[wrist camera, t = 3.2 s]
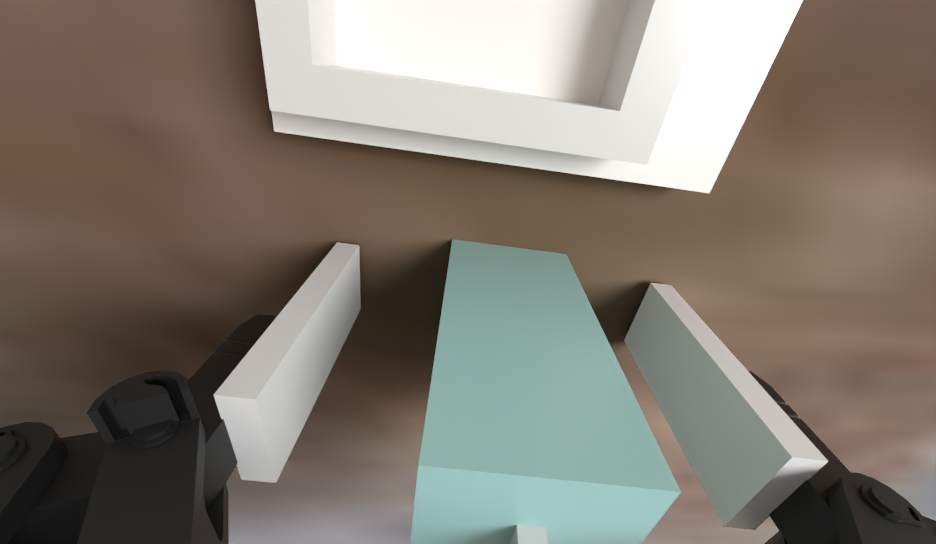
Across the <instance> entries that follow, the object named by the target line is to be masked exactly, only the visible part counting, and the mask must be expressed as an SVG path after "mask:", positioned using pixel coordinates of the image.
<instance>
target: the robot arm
mask: <svg viewBox="0 0 936 544" xmlns="http://www.w3.org/2000/svg"><path fill="white" fill-rule="evenodd" d="M360 310H361V296H360V255H359V245H354V244H346V243H338V242H337V243H336V244H335V246H334V247H333V248H332V249H331V251H330V252H329V253H328V254H327V255H326V257H325V258H324V259H323V260H322V262H321V263H320V264H319V265H318V267H317V268H316V269H315V270H314V272H313V273H312V274H311V275H310V276H309V278H308V279H307V280H306V281H305V283H304V284H303V285H302V286H301V288H300V289H299V290H298V291H297V292H296V294H295V295H294V296H293V297H292V299H291V300H290V301H289V302H288V304H287V305H286V306H285V307H284V308H283V310H282V311H281V312H280V313H279V315H278V316H269V315H260V314H258V315H256V316H255V317H253V318H251V319H250V320H248V321H246V322H244V323H243V324H241V325H240V326H239V327H238V328H237V329H236V330H235V331H234V332H233V333H232V334H231V335H230V336H229V337H228V338H227V341H226V342H224V343H223V344H222V345H221V346H220V347H219V348H218V349H217V350H216V353H215V354H213V355H212V356H211V357H210V358H209V359H208V360H207V361H206V362H205V363H204V364H203V365H202V366H201V368H200V369H199V370H198V371H197V372H196V373H195V374H194V375H193V376H192V377H191V378H190V379H189V380H188V382H187V379H186V378H185V377H183V376H182V375H181V374H179V373H177V372H170V371H156V372H147V373H144V374H141V375H138V376H134V377H131V378H128V379H126V380H124V381H122V382H121V383H119V384H117V385H115V386H113V387H111V388H109V389H108V390H107V391H106V392H105V393H103V394H102V395H101V396H100V397H98V398H97V399H96V400H95V401H94V403H93V404H92V406H91V407H90V409H89V410H88V412H87V414H88V415H89V417H90V419H91V420H92V422H93V423H94V425H95V427H96V428H97V430H98V432H96V433H90V434H84V435H78V436H71V437H65V438H59V436H58V435H57V434H56V432H55V431H54V429H53V428H52V427H50V426H48V425H46V424H44V423H37V422H25V423H20V424H16V425H11V426H7V427H3V428H0V544H228V490H227V487H226V481H227V480H228V478H229V476H230V475H231V473H232V471H233V470H234V468H235V466H236V465H237V468H238V471H239V474H240V477H241V480H252V481H262V482H272V483H276V482H277V480H278V478H279V476H280V474H281V472H282V470H283V468H284V466H285V464H286V462H287V460H288V457H289V455H290V453H291V451H292V449H293V447H294V445H295V443H296V441H297V439H298V437H299V435H300V433H301V431H302V429H303V427H304V425H305V423H306V420H307V418H308V416H309V414H310V412H311V410H312V408H313V406H314V404H315V402H316V400H317V398H318V396H319V394H320V392H321V390H322V388H323V386H324V384H325V381H326V379H327V377H328V375H329V373H330V371H331V369H332V367H333V365H334V363H335V361H336V359H337V357H338V355H339V353H340V351H341V349H342V347H343V344H344V342H345V340H346V338H347V336H348V334H349V332H350V330H351V328H352V326H353V324H354V322H355V320H356V318H357V316H358V314H359V312H360ZM624 342H625V344H626V345H627V347H628V349H629V351H630V353H631V355H632V357H633V358H634V360H635V362H636V364H637V366H638V368H639V370H640V371H641V373H642V375H643V377H644V379H645V381H646V383H647V384H648V386H649V388H650V390H651V392H652V394H653V396H654V397H655V399H656V401H657V403H658V405H659V407H660V409H661V410H662V412H663V414H664V416H665V418H666V420H667V422H668V423H669V425H670V427H671V429H672V431H673V433H674V435H675V436H676V438H677V440H678V442H679V444H680V446H681V447H682V449H683V451H684V453H685V455H686V457H687V459H688V460H689V462H690V464H691V466H692V468H693V470H694V472H695V473H696V475H697V477H698V479H699V481H700V483H701V485H702V486H703V488H704V490H705V492H706V494H707V496H708V498H709V499H710V501H711V503H712V505H713V507H714V509H715V511H716V512H717V514H718V516H719V518H720V520H721V522H722V524H723V525H724V527H733V528H743V529H753V530H755V529H756V528H757V527H758V526H759V525H760V524H762V523H763V522H764V521H765V520H766V519H767V518H768V517H769V516H770V517H771V518H772V520H773V522H774V523H775V525H776V526H777V528H778V529H779V532H778V533H776V534H775V535H774V536H773V537H772V538H771V539H769V540H768V541H767V542H766V543H765V544H936V521H934V520H932V519H929V518H926V517H924V516H922V515H921V514H920V513H919V512H918V511H917V510H916V509H915V508H914V507H913V506H912V505H911V504H910V503H909V502H908V501H907V500H906V499H905V498H903V497H902V496H901V495H899V494H898V493H896V492H895V491H894V490H892V489H891V488H890V487H888V486H886V485H884V484H883V483H881V482H879V481H877V480H875V479H874V478H871V477H868V476H866V475H863V474H860V473H851V472H850V471H849V470H848V469H847V468H846V467H845V466H844V465H843V464H842V463H841V462H840V461H839V460H838V458H837V457H836V456H835V455H834V454H833V453H832V452H831V451H830V450H829V449H828V448H827V447H826V445H825V444H824V443H823V442H822V441H821V440H820V439H819V438H818V437H817V436H816V435H815V434H814V432H813V431H812V430H811V429H810V428H809V427H808V426H807V425H806V424H805V423H804V422H803V421H802V419H798V417H797V416H798V415H797V414H796V413H795V412H794V411H793V410H792V409H791V408H790V407H789V405H785V401H784V400H783V399H782V398H781V397H780V396H779V395H778V394H777V392H776V391H775V390H774V389H773V388H772V387H771V386H770V385H769V384H767V383H766V382H764V381H763V380H762V379H760V378H759V377H758V376H756V375H755V374H754V373H752V372H751V371H747V370H746V368H745V367H744V366H743V365H742V364H741V363H740V362H739V361H738V360H737V358H736V357H735V356H734V355H733V354H732V353H731V352H730V351H729V349H728V348H727V347H726V346H725V345H724V344H723V343H722V342H721V341H720V339H719V338H718V337H717V336H716V335H715V334H714V333H713V332H712V330H711V329H710V328H709V327H708V326H707V325H706V324H705V323H704V322H703V320H702V319H701V318H700V317H699V316H698V315H697V314H696V313H695V311H694V310H693V309H692V308H691V307H690V306H689V305H688V304H687V303H686V301H685V300H684V299H683V298H682V297H681V296H680V295H679V294H678V292H677V291H676V290H675V289H674V288H673V287H672V286H671V285H665V284H657V283H650V285H649V287H648V290H647V292H646V294H645V296H644V298H643V300H642V303H641V305H640V307H639V309H638V311H637V313H636V316H635V318H634V320H633V322H632V324H631V326H630V329H629V331H628V333H627V335H626V337H625V340H624Z"/></svg>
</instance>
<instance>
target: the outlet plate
mask: <svg viewBox="0 0 936 544" xmlns="http://www.w3.org/2000/svg"><path fill="white" fill-rule="evenodd" d="M802 1H803V0H255V3H256V10H257V18H258V25H259V33H260V40H261V48H262V55H263V63H264V70H265V78H266V85H267V93H268V100H269V107H270V110H271V112H272V119H273V127H274V132H281V133H288V134H295V135H302V136H310V137H317V138H324V139H331V140H338V141H345V142H352V143H359V144H366V145H373V146H380V147H387V148H394V149H401V150H408V151H415V152H422V153H429V154H436V155H443V156H451V157H458V158H465V159H472V160H479V161H486V162H493V163H500V164H507V165H514V166H521V167H528V168H535V169H542V170H549V171H556V172H563V173H570V174H577V175H584V176H591V177H599V178H606V179H613V180H620V181H627V182H634V183H641V184H648V185H655V186H662V187H669V188H676V189H683V190H690V191H697V192H704V193H710V191H711V189H712V187H713V185H714V183H715V181H716V179H717V177H718V175H719V172H720V170H721V168H722V166H723V164H724V162H725V160H726V158H727V156H728V154H729V152H730V150H731V148H732V146H733V144H734V142H735V139H736V137H737V135H738V133H739V131H740V129H741V127H742V125H743V123H744V121H745V119H746V117H747V115H748V113H749V111H750V109H751V106H752V104H753V102H754V100H755V98H756V96H757V94H758V92H759V90H760V88H761V86H762V84H763V82H764V80H765V78H766V76H767V73H768V71H769V69H770V67H771V65H772V63H773V61H774V59H775V57H776V55H777V53H778V51H779V49H780V47H781V45H782V43H783V40H784V38H785V36H786V34H787V32H788V30H789V28H790V26H791V24H792V22H793V20H794V18H795V16H796V14H797V12H798V10H799V7H800V5H801V3H802Z"/></svg>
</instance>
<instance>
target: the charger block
mask: <svg viewBox="0 0 936 544" xmlns="http://www.w3.org/2000/svg"><path fill="white" fill-rule="evenodd" d="M680 493H681V491H680V489H679V487H678V485H677V483H676V481H675V479H674V477H673V474H672V472H671V470H670V468H669V466H668V464H667V462H666V460H665V458H664V456H663V454H662V452H661V450H660V448H659V445H658V443H657V441H656V439H655V437H654V435H653V433H652V431H651V429H650V427H649V425H648V423H647V421H646V419H645V416H644V414H643V412H642V410H641V408H640V406H639V404H638V402H637V400H636V398H635V396H634V394H633V392H632V390H631V387H630V385H629V383H628V381H627V379H626V377H625V375H624V373H623V371H622V369H621V367H620V365H619V363H618V361H617V359H616V356H615V354H614V352H613V350H612V348H611V346H610V344H609V342H608V340H607V338H606V336H605V334H604V332H603V330H602V327H601V325H600V323H599V321H598V319H597V317H596V315H595V313H594V311H593V309H592V307H591V305H590V303H589V301H588V298H587V296H586V294H585V292H584V290H583V288H582V286H581V284H580V282H579V280H578V278H577V276H576V274H575V272H574V269H573V267H572V265H571V263H570V261H569V259H568V257H567V255H566V254H561V253H553V252H546V251H538V250H530V249H523V248H515V247H508V246H500V245H492V244H485V243H477V242H470V241H462V240H454V239H452V244H451V251H450V258H449V264H448V271H447V278H446V284H445V291H444V298H443V304H442V311H441V318H440V324H439V331H438V338H437V344H436V351H435V358H434V364H433V371H432V378H431V384H430V391H429V398H428V404H427V411H426V418H425V424H424V431H423V438H422V444H421V451H420V458H419V464H418V473H417V483H416V492H415V501H414V511H413V520H412V530H411V539H410V544H641V543H642V541H643V540H644V539H645V538H646V536H647V535H648V534H649V532H650V531H651V530H652V529H653V527H654V526H655V525H656V523H657V522H658V521H659V520H660V518H661V517H662V516H663V514H664V513H665V512H666V511H667V509H668V508H669V507H670V506H671V504H672V503H673V502H674V500H675V499H676V498H677V497H678V495H679V494H680Z"/></svg>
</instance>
